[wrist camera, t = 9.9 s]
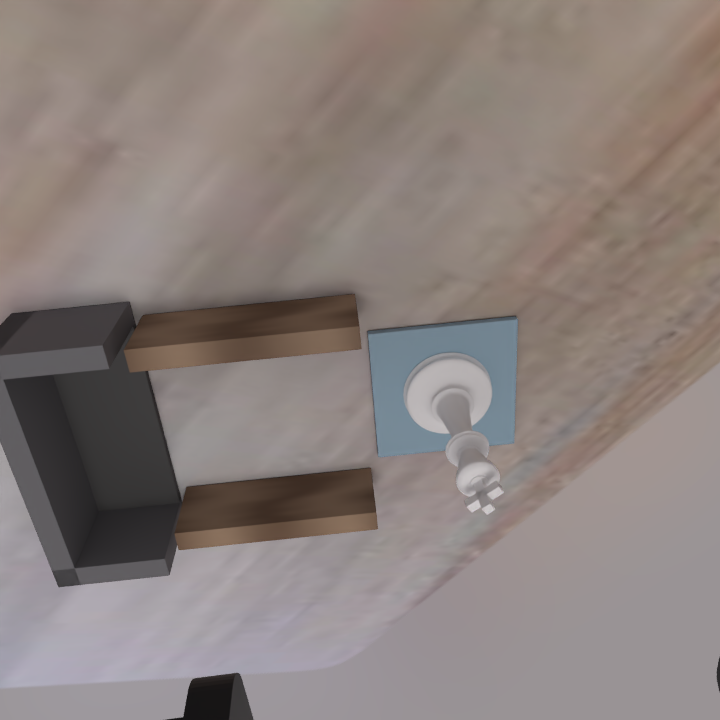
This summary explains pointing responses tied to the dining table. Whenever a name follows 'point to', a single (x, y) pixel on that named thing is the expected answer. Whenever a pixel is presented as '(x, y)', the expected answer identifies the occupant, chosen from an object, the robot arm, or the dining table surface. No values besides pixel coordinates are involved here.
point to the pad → (415, 344)
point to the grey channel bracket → (87, 444)
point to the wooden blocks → (253, 342)
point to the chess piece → (457, 419)
